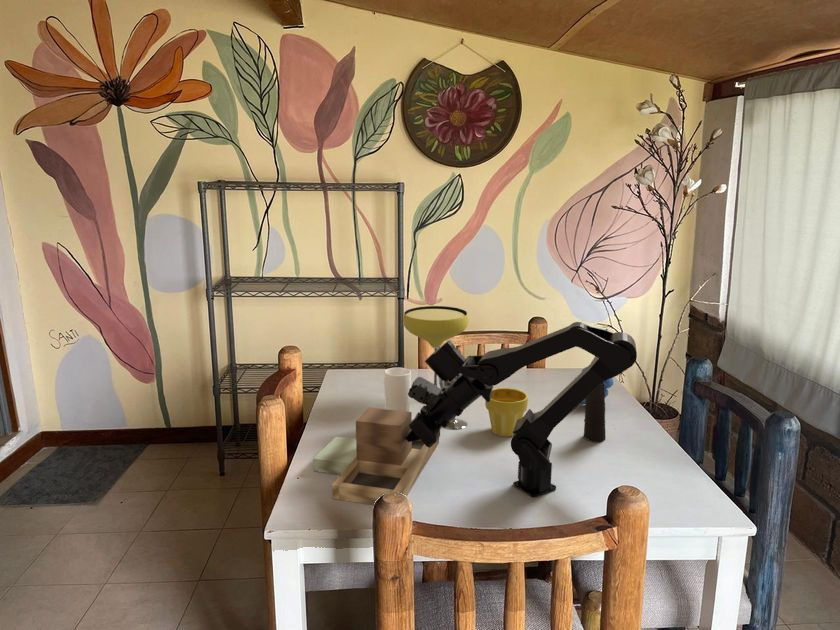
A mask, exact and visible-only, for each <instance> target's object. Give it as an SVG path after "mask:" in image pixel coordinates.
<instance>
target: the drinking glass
mask: <svg viewBox="0 0 840 630" xmlns="http://www.w3.org/2000/svg"><path fill="white" fill-rule="evenodd" d="M383 378H384V379H383V380H384V381H383V386H384V396H385V406H386V408H385V409H387V410H397V411H406V412H410V408H411V407H410V406H411V399H412V398H411V397H409V396H408V392H409V389H410V388H411V386H412V370H411V369H408V368H406V367H391V368H387V369H386V370H384V377H383Z"/></svg>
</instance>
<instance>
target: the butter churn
mask: <svg viewBox="0 0 840 630" xmlns="http://www.w3.org/2000/svg"><path fill="white" fill-rule="evenodd" d="M605 330H607V331H609V330H608V328H606V329H605ZM583 421H584V425H583V427H584V428H583V429H584V430H583V437H584V438H585V439H586V440H587V441H589V442H593V443H601V442H604V441H606V398H605V382H603V383H602V384H601V385H600V386H599V387H597V388H596V389H595V390H594V391H593V392H592V393H591V394H590V395H589V396H588V397H587V398H586V399H585V404H584V420H583Z"/></svg>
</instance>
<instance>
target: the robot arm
mask: <svg viewBox="0 0 840 630" xmlns="http://www.w3.org/2000/svg"><path fill="white" fill-rule="evenodd" d="M573 348H579V349H582V350H583V351H586V352H588V353H589V354H590V355H593V356H594V357H593V359H592V360H591V362H590V364H589V365H588V366H586V367H587V368H586V369H585V370H584V371H582V370H581V372H580V373H579V374H578V375H577V376H576V377H575V378H574V379H573V380H572V381H570V383H569V384H567V386H566V387H565V388H563V389H562V390H561V391H560V392H559V393H558V394H557V396H555V397H554V398H553V399H552V400H551V401H550V402H549V403H548V404H547V405H545V406H544V408H543V409H541V410H539V411H537V412H533V411H532V409H530V408H528V409H527V410H526V413H524V414H523V417H522V418H521V419H518V420H517V422H516V424H515V427H514V430H513V433H514V434H513V436H511V440H510V448H511V450H512V452H513V453H514V454H515V455H516V456H517V457H518V459H519V461H518V465H517V466H518V467H517V470H518V471H517V479H518V480H516V481H514V482H513V483H512V485H513V486H515V488H517V489H519V490H520V491H522V492H524V493H525V494H527V495H528V496H530V497H533V498H535V497H539V496H541V495H544V494H546V493H549V492H551V491H554V490H557V486H556V485H555V484H553V483H552V470H553V464H552V462H551V460H550V457H551V453H552V452H551V451H552V447H553V443H552V442H551V441H550V440H549V439H548V438H549V437H550V435H551V434H552V431H554V429H555V428H556V427H557V426H558V425H560V423H562V421H563V420H564V419H565V418H566V417H568V416H569V415H570V414H571V413H572V412H573V411H574V410H575V409H576V408H577V407H578V406H579V405H580V403H581V402H582V401H583V400H585V399H586V398H587V397H588V396H589V395H590V394H591V393H592V392H593V391H594V390H595V389H596V388H597V387H599V386H600V385H601V384H602V383H603V382H604V381H606V380H608V379H611V378H612V379H613V378H616V377H617V376H619V375H620V374H622V373H624V372H625V371H627V370H628V369H630V368H631V367H633V366H634V364H636V362H637V359H638V352H637V345H636V341H635V339H634V338H633V337H632V336H631V334H629V333H626V332H623V331H621V332H618V331H616V332H612V331H610V330H606V329H604V328H600V327H596V326H591V325H589V324H586V323H583V322H581V321H575V322H572V323H570V324H569V325H568V326H566V327H563V328H561V329H558V330H556V331H555V330H554V331H553V332H550V333H548V334H546V335H543V336H540V337H537V338H536V339H533V340H531V341H528V342H525V343H523V344H520V345H518V346H514V347H503V348H499V349H498V348H497V349H493V350H489V351H487V352H485V353H484V354H482V355H479V354H478V355H467V357H465V356H463V354H462V353H461V352H460V351H459V350H458V349H457V348H456V346H455V344H454V343H453V342H452V340H449V339H448V340H446V341H445V343H444V344H442V345H441V346H440V347H439V348H437V350H435V349H434V351H433V352H432V353H431V354H430V355H429V356H428V357H427V358H426V359H425V360H424V363H425V364H426V365H427V366H428V367H429V368H430V369H431V370H432V371H433V373H434V372H435V373H436V375H437V378H438V377H439V378H440V379H441V380H442V381H445V382H446V381H448V380H449V381H452V380H453V379H454V378H455V377H456V376H457V375H458V374H460V373H461V374H462V376H460V377H459V378H458V379H457V380H456V381H455V382H453V383H452V384H451V385H450V386H447V387H446V386H445V387H444V388H443V389H441V388H440V386H439V387H438V385H437V386H436V385H434V382H432V381H429V380H427V379H425V378H423V377H422V376H417V377H416V379H414V381H412V383H411V388H410V389H409V392H408V396H409V397H411V398H410V399H413V400H415V401H417V402H418V403H421V402H422V403H421V404H423V406H422V407H421V408H420V411H418V412H417V413H416V414H415V417H414V418H413V419H412V421H411V423H410V424H409V427H410V429H411V432H410V433H409V434H408V436H407V437H406V440H407V441H408V442H411V441H416V440H421V441H422V442H423V443H424V444H425V445H426V446H427V447H429V448H430V447H431V446H432V445H434V444H435V443H436V442H437V440H438V438H439V439H440V437H441V429H442V428H443V429H445V427H446V426H447V425H448V424H449V422H450V421H451V420H452V419H454V418H455V419H456V417H460V416H461V415H462V414H463V412H464V410H466V408H468V407H469V406H471V404H473V403H474V402H475V401H476V400H477V399H479V398H480V397H481V398H482V399H484V400H486V401H487V402H489V401H490V400H491V398H492V396H493V394H492V389H494V386H497V385H499V384H500V383H501V382H504V381H506V379H508V378H509V377H511V376H513V374H516V373H517V372H518V371H519V370H520V369H522V368H525V367H527V366H529V365H532V364H535V363H538V362H540V361H543V360H545V359H548V358H550V357H552V356H555V355H557V354H560V353H563V352H565V351H569V350H570V349H573ZM439 378H438V379H439Z"/></svg>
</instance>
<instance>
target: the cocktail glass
mask: <svg viewBox="0 0 840 630" xmlns="http://www.w3.org/2000/svg"><path fill="white" fill-rule="evenodd" d="M402 315H403V317H402V323H403V326H404V328H405V329H406V330H407V331H408V332H409V333H410V334H412V335H413V336H415V337H418V338H420V339H422V340H424V341H426V342H427V343H428V344H429V345H430V346H431V348H432V349H434V351H435V350H437V349H438V348H439V347H441V346H442V345H443V343H444V342H447V341H448V340H449V339H451V338H454V337H456V336H458V335H460V334H462V333H463V332H464V331H465V330H466V329H467V327H468V325H469V314H468V312H467V311H466V310H464V309H462V308H459V307H453V306H442V305H440V306H439V305H425V306H417V307H412V308H409V309H407V310H405V311H404V313H403V314H402ZM433 373H434V375H433V380H434V381H433V384H434V385H436V386H437V387H438V376H437V375H436V373H435V372H434V371H433ZM420 403H421V404H423V403H422V402H420Z"/></svg>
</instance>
